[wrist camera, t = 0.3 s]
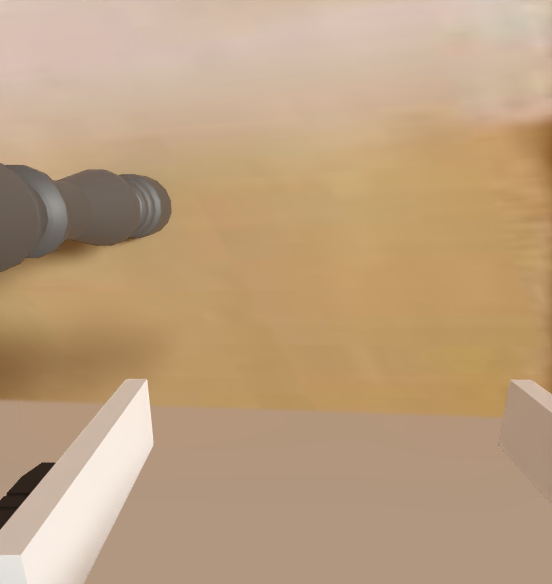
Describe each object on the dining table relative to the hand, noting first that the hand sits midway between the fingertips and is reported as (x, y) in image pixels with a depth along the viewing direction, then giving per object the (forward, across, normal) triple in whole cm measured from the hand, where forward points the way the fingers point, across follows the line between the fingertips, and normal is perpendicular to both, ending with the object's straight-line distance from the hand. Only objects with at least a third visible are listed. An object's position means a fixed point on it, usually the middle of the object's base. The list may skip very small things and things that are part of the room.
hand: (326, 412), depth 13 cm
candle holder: (+28, -16, +7) cm, 33 cm away
